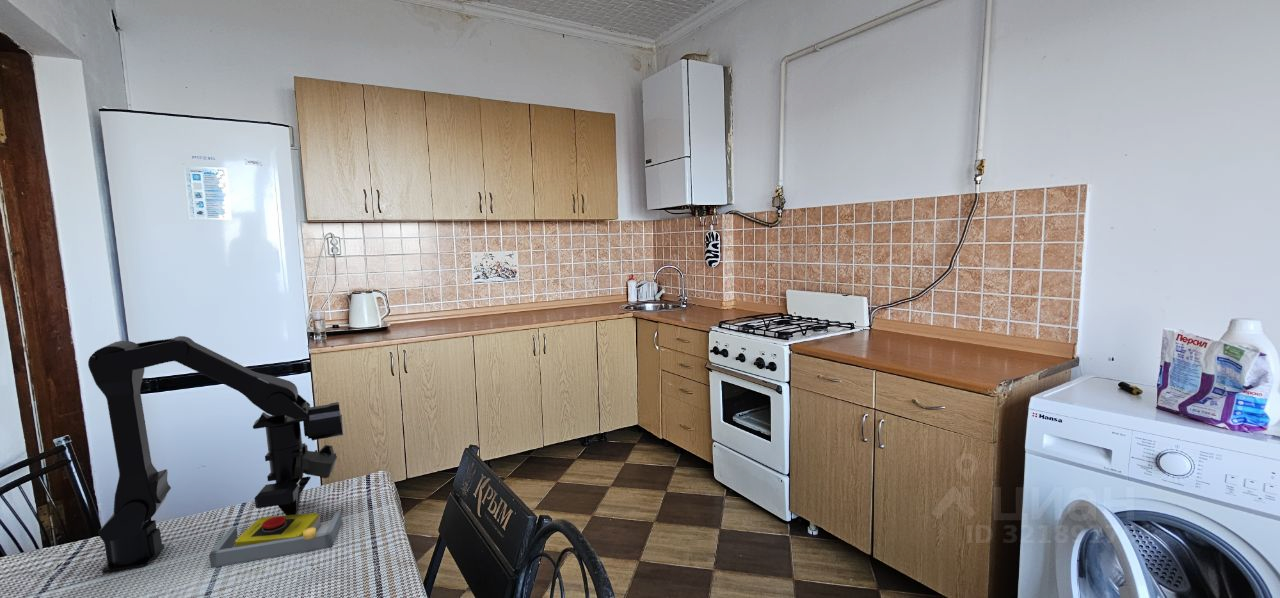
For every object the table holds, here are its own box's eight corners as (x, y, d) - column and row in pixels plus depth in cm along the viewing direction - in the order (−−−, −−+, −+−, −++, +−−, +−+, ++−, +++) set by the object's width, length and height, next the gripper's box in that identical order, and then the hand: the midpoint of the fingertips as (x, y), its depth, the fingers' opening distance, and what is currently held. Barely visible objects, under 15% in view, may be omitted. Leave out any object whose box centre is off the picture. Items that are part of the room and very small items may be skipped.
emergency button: (251, 511, 108) (331, 505, 110) (253, 532, 108) (333, 525, 110) (221, 537, 99) (310, 530, 101) (224, 560, 99) (312, 552, 101)
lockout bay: (209, 569, 96) (207, 549, 95) (231, 540, 105) (229, 522, 104) (331, 548, 101) (329, 529, 101) (342, 522, 110) (340, 505, 110)
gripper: (318, 456, 102) (326, 535, 104) (340, 424, 120) (347, 491, 121) (249, 465, 99) (258, 546, 100) (282, 430, 116) (290, 500, 118)
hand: (293, 518), depth 110 cm, fingers closed
